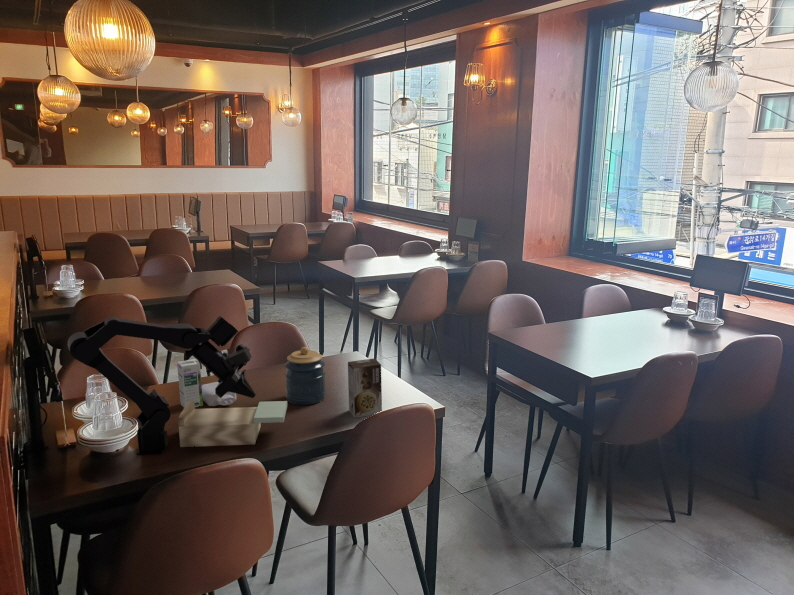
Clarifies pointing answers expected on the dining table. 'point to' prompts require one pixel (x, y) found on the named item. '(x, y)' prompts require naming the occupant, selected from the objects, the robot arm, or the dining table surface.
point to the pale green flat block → (270, 412)
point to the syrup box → (190, 382)
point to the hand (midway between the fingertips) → (254, 396)
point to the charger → (214, 399)
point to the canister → (305, 377)
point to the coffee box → (364, 387)
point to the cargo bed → (217, 426)
